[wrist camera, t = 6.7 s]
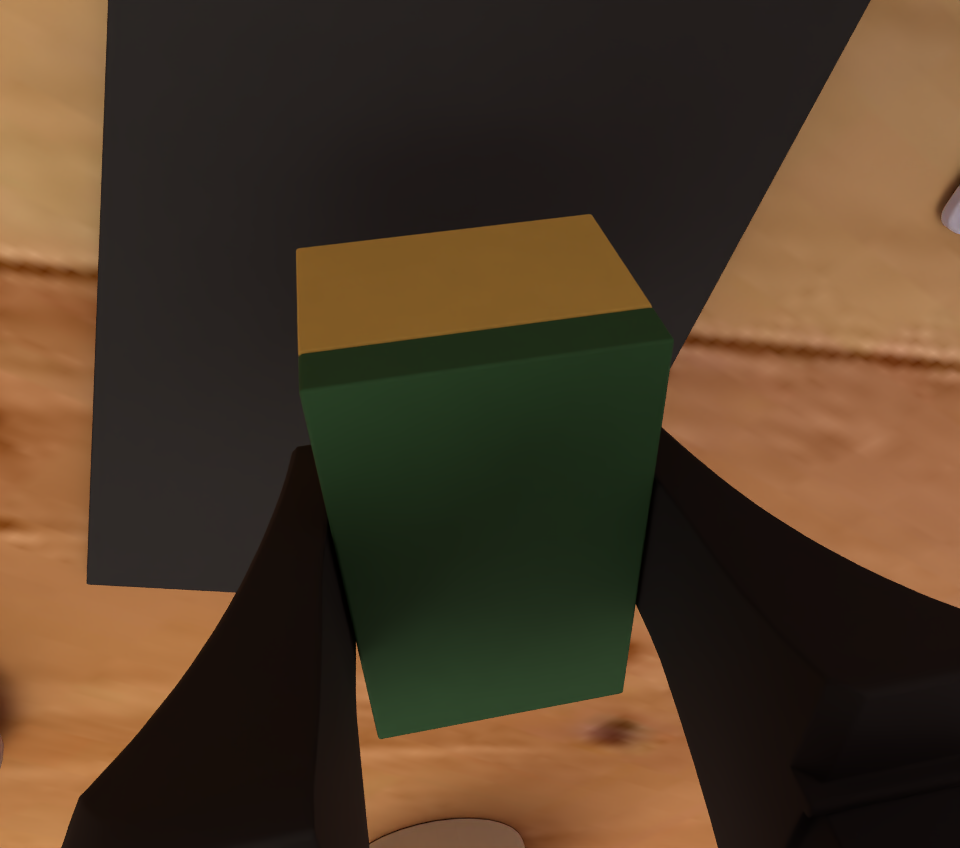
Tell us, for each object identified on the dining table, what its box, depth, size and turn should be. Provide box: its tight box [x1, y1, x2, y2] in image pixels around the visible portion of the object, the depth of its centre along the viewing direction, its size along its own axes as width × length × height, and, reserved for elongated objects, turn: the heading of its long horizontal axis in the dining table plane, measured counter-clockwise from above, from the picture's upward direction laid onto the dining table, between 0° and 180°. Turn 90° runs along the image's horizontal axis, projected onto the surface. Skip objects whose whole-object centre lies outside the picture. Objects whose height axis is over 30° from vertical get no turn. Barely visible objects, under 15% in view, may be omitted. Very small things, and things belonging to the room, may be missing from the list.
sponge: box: [296, 214, 674, 739], centre depth 14 cm, size 8×5×4 cm, turn 2°
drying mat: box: [87, 0, 870, 592], centre depth 19 cm, size 20×14×1 cm
